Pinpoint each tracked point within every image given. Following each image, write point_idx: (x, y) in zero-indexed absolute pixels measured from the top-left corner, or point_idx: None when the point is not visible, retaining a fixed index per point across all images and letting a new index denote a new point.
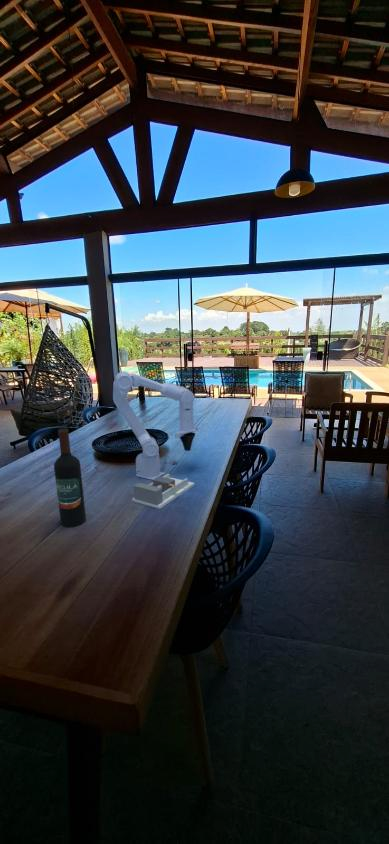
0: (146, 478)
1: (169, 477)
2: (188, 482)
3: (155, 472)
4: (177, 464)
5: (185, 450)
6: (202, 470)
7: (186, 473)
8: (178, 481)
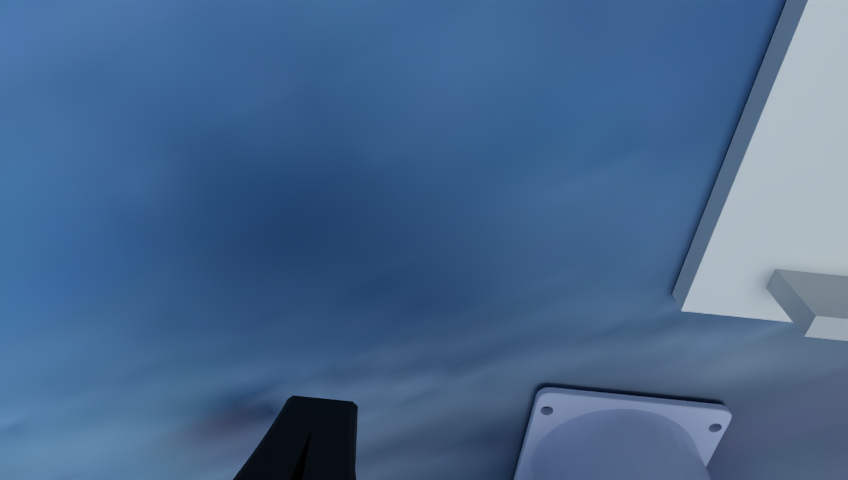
0: (704, 459)
1: (795, 290)
2: (831, 22)
3: (682, 454)
4: (252, 384)
5: (354, 454)
6: (258, 68)
7: (440, 208)
8: (801, 165)
